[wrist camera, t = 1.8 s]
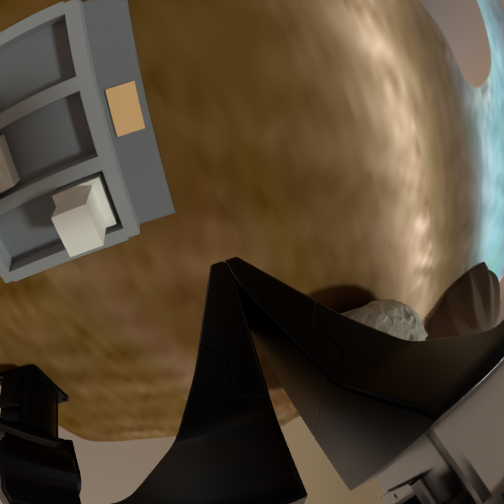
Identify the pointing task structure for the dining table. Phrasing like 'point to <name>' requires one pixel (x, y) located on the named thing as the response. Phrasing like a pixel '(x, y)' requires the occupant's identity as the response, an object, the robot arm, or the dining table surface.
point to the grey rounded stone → (390, 319)
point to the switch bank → (74, 128)
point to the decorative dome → (468, 306)
